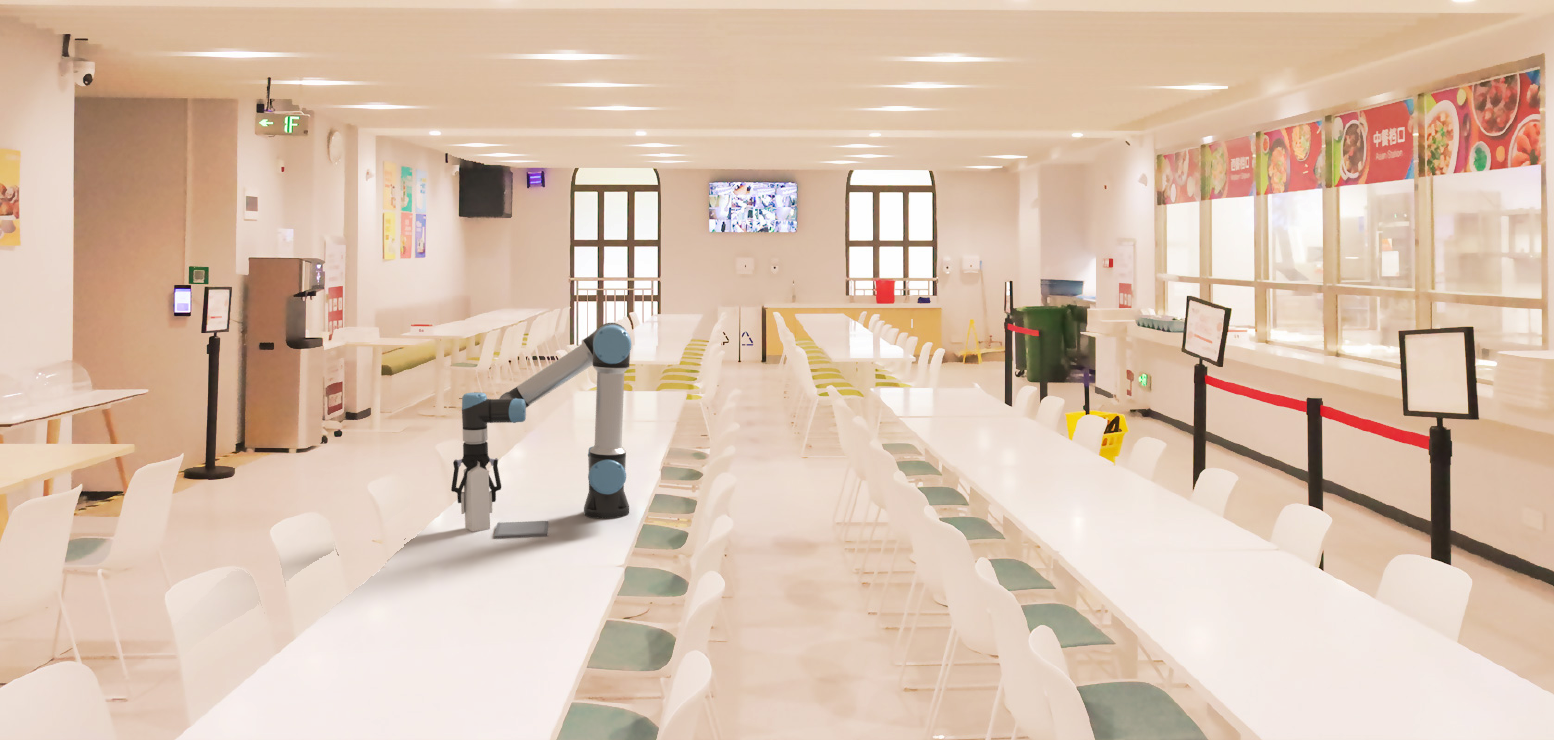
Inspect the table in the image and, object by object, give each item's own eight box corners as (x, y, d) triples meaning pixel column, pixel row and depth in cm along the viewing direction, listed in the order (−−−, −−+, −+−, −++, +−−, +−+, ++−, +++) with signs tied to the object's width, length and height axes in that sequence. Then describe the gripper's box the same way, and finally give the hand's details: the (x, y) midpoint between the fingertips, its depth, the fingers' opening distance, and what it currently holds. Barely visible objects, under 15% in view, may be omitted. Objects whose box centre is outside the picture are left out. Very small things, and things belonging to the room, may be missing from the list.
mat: (548, 523, 352) (548, 520, 352) (547, 536, 336) (547, 533, 336) (497, 525, 349) (497, 522, 349) (494, 538, 333) (494, 535, 333)
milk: (472, 532, 341) (469, 463, 338) (465, 528, 345) (462, 460, 343) (490, 529, 344) (488, 460, 342) (483, 525, 349) (481, 457, 346)
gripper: (509, 438, 347) (511, 508, 350) (442, 440, 343) (444, 510, 346) (508, 443, 340) (510, 514, 342) (439, 444, 336) (441, 516, 339)
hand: (477, 512), depth 344 cm, fingers closed on milk, 8 cm apart
